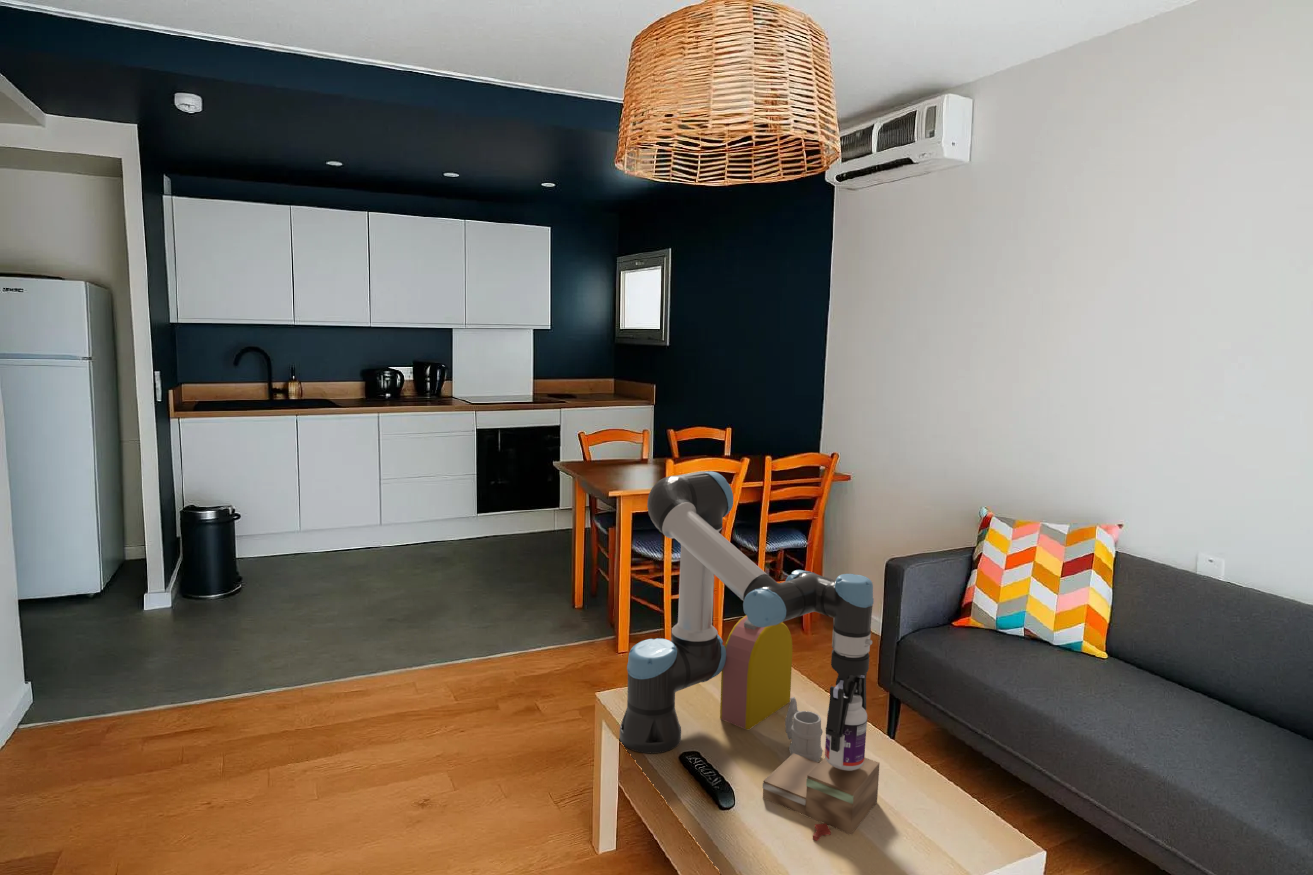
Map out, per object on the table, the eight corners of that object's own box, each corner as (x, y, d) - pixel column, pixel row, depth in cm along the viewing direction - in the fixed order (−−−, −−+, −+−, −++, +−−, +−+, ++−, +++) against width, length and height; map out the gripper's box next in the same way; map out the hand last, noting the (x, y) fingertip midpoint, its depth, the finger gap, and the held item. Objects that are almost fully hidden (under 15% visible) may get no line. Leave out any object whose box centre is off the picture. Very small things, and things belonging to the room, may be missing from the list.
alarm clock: (762, 690, 218) (766, 599, 215) (791, 701, 212) (795, 607, 209) (718, 718, 202) (721, 620, 199) (748, 730, 197) (752, 629, 193)
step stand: (748, 811, 163) (750, 771, 162) (792, 769, 179) (794, 732, 178) (838, 850, 151) (841, 807, 150) (877, 801, 167) (879, 762, 166)
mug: (801, 768, 180) (804, 719, 178) (772, 743, 190) (774, 696, 189) (828, 760, 183) (831, 712, 181) (798, 737, 194) (800, 691, 192)
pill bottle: (816, 760, 164) (820, 695, 162) (839, 747, 169) (843, 684, 167) (849, 777, 158) (853, 710, 156) (871, 763, 163) (876, 698, 161)
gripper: (847, 672, 149) (841, 783, 153) (886, 639, 166) (880, 740, 169) (811, 662, 154) (805, 770, 157) (853, 631, 171) (847, 729, 174)
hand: (844, 754), depth 163 cm, fingers closed on pill bottle, 8 cm apart
